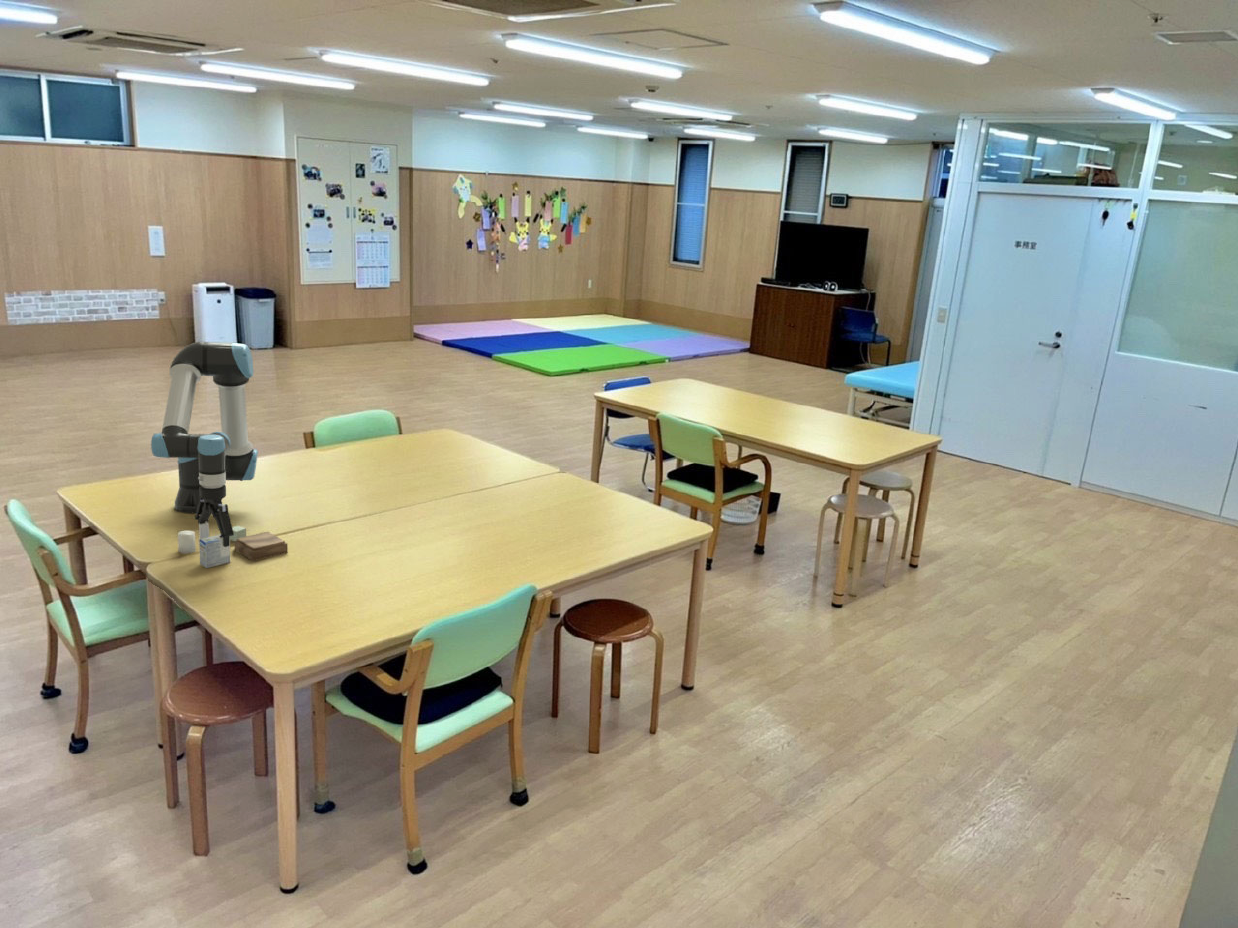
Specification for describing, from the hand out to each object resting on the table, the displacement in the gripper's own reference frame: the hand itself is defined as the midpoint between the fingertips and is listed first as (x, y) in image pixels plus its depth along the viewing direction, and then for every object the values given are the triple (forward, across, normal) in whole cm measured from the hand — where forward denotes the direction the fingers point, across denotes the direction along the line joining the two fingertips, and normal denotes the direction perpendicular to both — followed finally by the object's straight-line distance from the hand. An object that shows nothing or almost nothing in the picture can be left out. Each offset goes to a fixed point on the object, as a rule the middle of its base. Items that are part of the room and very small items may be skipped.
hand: (214, 549), depth 285 cm
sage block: (+5, -15, +15) cm, 22 cm away
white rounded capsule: (+5, -15, -2) cm, 16 cm away
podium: (+5, -1, +16) cm, 17 cm away
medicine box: (+5, 0, 0) cm, 5 cm away
